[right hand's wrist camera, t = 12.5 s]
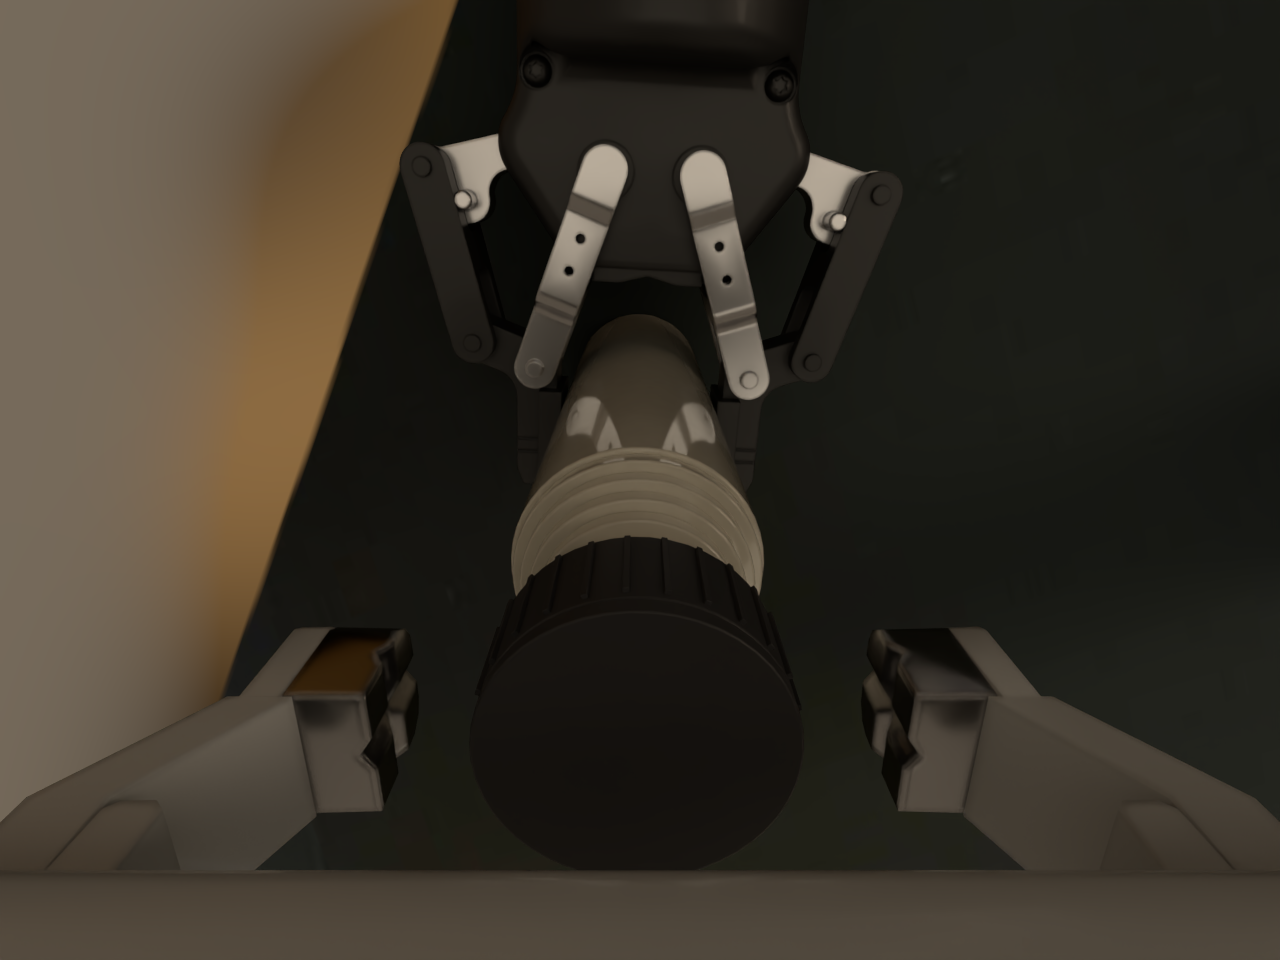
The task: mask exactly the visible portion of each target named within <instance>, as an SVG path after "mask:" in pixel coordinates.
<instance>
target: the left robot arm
mask: <svg viewBox="0 0 1280 960" xmlns="http://www.w3.org/2000/svg"><path fill="white" fill-rule="evenodd" d="M808 4H809V0H517V80H516V86H515V90H514V94H513V98H512V100H511V103H510V105H509V107H508V109H507V111H506V113H505V115H504V117H503V119H502V121H501V124H500V127H499V133H498V134H495V135H491V136H486V137H482V138H478V139H473V140H469V141H465V142H460V143H456V144H452V145H447V146H443V147H438V146H435V145H432V144H429V143H425V142H415V143H412V144H410V145H408V146H407V147H406V148H405V149H404V151H403V152H402V154H401V157H400V171H401V174H402V178H403V181H404V184H405V188H406V191H407V195H408V198H409V201H410V205H411V208H412V211H413V215H414V218H415V222H416V225H417V228H418V232H419V235H420V238H421V242H422V245H423V248H424V252H425V255H426V259H427V262H428V265H429V269H430V272H431V275H432V279H433V282H434V286H435V289H436V292H437V296H438V299H439V302H440V306H441V309H442V313H443V316H444V319H445V323H446V326H447V329H448V333H449V336H450V340H451V343H452V346H453V349H454V351H455V353H456V354H457V356H458V357H459V358H461V359H462V360H464V361H466V362H468V363H482V364H485V365H487V366H490V367H492V368H495V369H497V370H499V371H501V372H503V373H505V374H506V375H507V376H508V377H509V378H510V379H511V380H512V381H513V383H514V385H515V387H516V391H517V437H518V438H517V449H518V451H517V468H518V470H519V473H520V475H521V478H522V480H523V482H524V483H533V482H534V480H535V477H536V475H537V472H538V469H539V467H540V464H541V462H542V459H543V456H544V454H545V451H546V448H547V446H548V443H549V441H550V438H551V435H552V433H553V430H554V428H555V425H556V422H557V420H558V417H559V415H560V412H561V409H562V407H563V404H564V402H565V399H566V396H567V394H568V376H562V359H563V357H564V354H565V351H566V349H567V346H568V343H569V341H570V338H571V335H572V333H573V330H574V327H575V325H576V322H577V319H578V316H579V314H580V311H581V309H582V306H583V304H584V301H585V299H586V296H587V293H588V291H589V288H590V285H591V283H592V281H602V282H624V281H629V280H633V279H638V278H642V277H651V278H654V279H657V280H660V281H663V282H666V283H669V284H672V285H675V286H690V287H700V291H701V295H702V299H703V303H704V307H705V310H706V314H707V317H708V320H709V324H710V328H711V332H712V336H713V340H714V344H715V348H716V352H717V356H718V360H719V364H720V371H719V381H718V385H711V392H710V398H711V401H712V404H713V406H714V409H715V412H716V414H717V417H718V420H719V422H720V425H721V428H722V430H723V433H724V436H725V438H726V441H727V444H728V446H729V449H730V452H731V454H732V457H733V460H734V462H735V465H736V468H737V470H738V473H739V476H740V479H741V481H742V484H743V487H744V489H745V492H747V490H748V488H749V486H750V484H751V483H752V481H753V473H754V462H755V456H756V448H757V439H758V430H759V422H760V413H761V407H762V403H763V401H764V399H765V398H766V396H767V395H768V394H769V393H770V392H771V391H772V390H774V389H776V388H778V387H780V386H784V385H787V384H790V383H794V382H797V381H801V380H802V381H804V382H808V383H812V382H817V381H820V380H822V379H823V378H825V377H826V376H827V375H828V373H829V372H830V370H831V368H832V366H833V363H834V361H835V358H836V356H837V354H838V351H839V349H840V346H841V344H842V342H843V339H844V337H845V335H846V332H847V330H848V327H849V325H850V323H851V320H852V318H853V315H854V313H855V311H856V308H857V306H858V304H859V301H860V299H861V296H862V294H863V292H864V289H865V287H866V285H867V282H868V280H869V277H870V275H871V273H872V270H873V268H874V265H875V263H876V261H877V258H878V256H879V254H880V251H881V249H882V246H883V244H884V242H885V239H886V237H887V234H888V232H889V230H890V227H891V225H892V223H893V220H894V218H895V215H896V213H897V211H898V208H899V206H900V203H901V201H902V197H903V187H902V184H901V182H900V180H899V178H898V177H897V176H896V175H895V174H893V173H891V172H888V171H870V172H862V171H859V170H857V169H854V168H851V167H848V166H846V165H843V164H840V163H837V162H835V161H832V160H829V159H826V158H824V157H821V156H818V155H815V154H813V153H810V145H809V140H808V137H807V134H806V132H805V129H804V126H803V123H802V120H801V116H800V111H799V102H798V92H799V82H800V73H801V64H802V56H803V47H804V38H805V30H806V21H807V12H808ZM507 172H509V174H510V175H511V177H512V178H513V180H514V181H515V183H516V184H517V186H518V187H519V189H520V190H521V192H522V193H523V195H524V197H525V198H526V200H527V201H528V203H529V204H530V206H531V207H532V209H533V210H534V212H535V213H536V215H537V216H538V218H539V219H540V221H541V223H542V224H543V226H544V227H545V229H546V230H547V232H548V233H549V235H550V236H551V238H552V239H553V241H554V242H555V244H554V246H553V249H552V252H551V255H550V258H549V261H548V264H547V267H546V269H545V272H544V275H543V278H542V281H541V284H540V287H539V289H538V292H537V296H536V299H535V304H534V308H533V311H532V314H531V317H530V320H529V323H528V326H527V329H526V328H524V327H521V326H519V325H517V324H514V323H512V322H510V321H507V320H505V316H504V312H503V308H502V305H501V301H500V297H499V293H498V290H497V286H496V282H495V278H494V275H493V271H492V267H491V263H490V260H489V256H488V252H487V248H486V245H485V241H484V237H483V233H482V230H481V226H480V222H482V221H485V220H487V219H488V218H489V217H490V216H491V215H492V214H493V212H494V210H495V206H496V197H495V189H496V185H497V182H498V180H499V179H500V178H501V177H502V176H503V175H504V174H505V173H507ZM795 190H797V191H799V192H800V193H801V195H802V196H803V198H804V200H805V204H806V212H805V217H804V228H805V231H806V233H807V235H808V236H809V237H810V238H811V239H813V240H814V241H817V243H816V245H815V248H814V250H813V253H812V256H811V258H810V261H809V263H808V266H807V268H806V271H805V274H804V276H803V279H802V281H801V284H800V286H799V289H798V292H797V294H796V297H795V299H794V302H793V304H792V307H791V310H790V312H789V315H788V317H787V320H786V323H785V325H784V328H783V330H782V333H781V335H779V336H776V337H773V338H769V339H766V340H763V341H761V336H760V332H759V327H758V323H757V311H756V305H755V300H754V296H753V291H752V287H751V282H750V278H749V273H748V269H747V264H746V260H745V256H744V251H745V250H746V249H747V248H748V247H749V245H750V244H751V243H752V242H753V241H754V239H755V238H756V237H757V236H758V235H759V233H760V232H761V231H762V230H763V228H764V227H765V226H766V225H767V224H768V222H769V221H770V220H771V219H772V218H773V216H774V215H775V214H776V213H777V211H778V210H779V209H780V208H781V207H782V205H783V204H784V203H785V202H786V201H787V199H788V198H789V197H790V196H791V194H792V193H793V192H794V191H795Z"/></svg>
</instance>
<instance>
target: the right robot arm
mask: <svg viewBox="0 0 1280 960" xmlns="http://www.w3.org/2000/svg"><path fill="white" fill-rule="evenodd" d="M412 657H413V650H412V644H411V638H410V634H409V633H408V632H407V631H406V629H393V628H343V627H337V628H334V627H302V628H298V629H295V630H294V631H293V632H292V633H291V634H290V635H289V636H288V638H287V639H286V640H285V641H284V642H283V644H282V645H281V646H280V647H279V648H278V650H277V651H276V652H275V653H274V655H273V656H272V657H271V658H270V659H269V661H268V662H267V663H266V664H265V665H264V667H263V668H262V669H261V670H260V672H259V673H258V674H257V675H256V676H255V678H254V679H253V680H252V681H251V682H250V684H249V685H248V686H247V687H246V689H245V690H244V691H243V692H242V693H241V695H240V696H236V697H226V698H224V699H222V700H220V701H218V702H216V703H214V704H212V705H210V706H208V707H206V708H204V709H202V710H200V711H198V712H196V713H194V714H192V715H190V716H188V717H186V718H184V719H182V720H180V721H178V722H176V723H174V724H172V725H170V726H168V727H166V728H164V729H162V730H160V731H158V732H156V733H154V734H152V735H150V736H148V737H146V738H144V739H142V740H140V741H138V742H136V743H134V744H132V745H130V746H128V747H126V748H124V749H122V750H120V751H118V752H116V753H114V754H112V755H110V756H108V757H106V758H104V759H102V760H100V761H98V762H96V763H94V764H92V765H90V766H88V767H86V768H84V769H82V770H80V771H78V772H76V773H74V774H72V775H70V776H68V777H66V778H64V779H62V780H60V781H58V782H56V783H54V784H52V785H50V786H48V787H46V788H44V789H42V790H40V791H38V792H36V793H34V794H32V795H30V796H28V797H26V798H25V799H24V800H23V801H22V802H21V803H20V804H19V805H18V806H17V807H16V808H15V809H14V810H13V811H12V812H11V813H10V814H9V815H8V816H7V817H6V818H5V819H3V820H2V821H1V822H0V960H1280V822H1279V821H1278V820H1277V819H1276V818H1275V817H1274V816H1273V815H1272V814H1271V813H1270V812H1269V811H1268V810H1267V809H1266V808H1265V807H1263V806H1262V805H1261V804H1260V803H1259V802H1258V801H1257V800H1256V799H1255V798H1253V797H1251V796H1249V795H1247V794H1245V793H1243V792H1241V791H1239V790H1237V789H1235V788H1233V787H1231V786H1229V785H1227V784H1225V783H1223V782H1221V781H1219V780H1217V779H1215V778H1213V777H1211V776H1210V775H1208V774H1206V773H1204V772H1202V771H1200V770H1198V769H1196V768H1194V767H1192V766H1190V765H1188V764H1186V763H1184V762H1182V761H1180V760H1178V759H1176V758H1174V757H1172V756H1170V755H1168V754H1166V753H1164V752H1162V751H1160V750H1158V749H1156V748H1154V747H1152V746H1150V745H1148V744H1146V743H1144V742H1142V741H1140V740H1138V739H1136V738H1134V737H1132V736H1130V735H1128V734H1126V733H1124V732H1122V731H1120V730H1118V729H1116V728H1114V727H1112V726H1110V725H1108V724H1106V723H1104V722H1102V721H1100V720H1098V719H1096V718H1094V717H1092V716H1090V715H1088V714H1086V713H1084V712H1082V711H1080V710H1078V709H1076V708H1074V707H1072V706H1070V705H1068V704H1066V703H1064V702H1062V701H1060V700H1058V699H1056V698H1054V697H1044V696H1040V695H1039V693H1038V692H1037V691H1036V690H1035V689H1034V687H1033V686H1032V685H1031V684H1030V683H1029V681H1028V680H1027V679H1026V678H1025V676H1024V675H1023V674H1022V673H1021V672H1020V670H1019V669H1018V668H1017V667H1016V666H1015V664H1014V663H1013V662H1012V661H1011V660H1010V658H1009V657H1008V656H1007V655H1006V653H1005V652H1004V651H1003V650H1002V649H1001V647H1000V646H999V645H998V644H997V643H996V641H995V640H994V639H993V638H992V637H991V635H990V634H989V633H988V632H987V631H986V630H985V629H983V628H980V627H955V628H931V629H891V630H872V633H871V635H870V638H869V642H868V649H867V657H868V659H869V661H870V663H871V665H872V667H873V669H874V671H873V672H872V673H871V674H870V675H869V676H868V677H867V678H866V679H865V680H864V681H863V687H862V697H861V708H862V721H863V726H864V730H865V734H866V737H867V739H868V742H869V744H870V747H871V749H872V750H874V751H875V752H876V753H878V754H879V755H880V756H882V757H883V758H884V759H883V766H882V775H883V777H884V780H885V782H886V784H887V787H888V789H889V791H890V793H891V796H892V798H893V800H894V803H895V805H896V807H897V810H898V811H919V812H955V813H964V815H963V816H964V817H965V818H967V819H968V820H969V821H970V822H971V823H972V824H973V825H975V826H976V827H977V828H978V829H979V830H980V831H981V832H983V833H984V834H985V835H986V836H987V837H988V838H990V839H991V840H992V841H993V842H994V843H995V844H996V845H998V846H999V847H1000V848H1001V849H1002V850H1003V851H1004V852H1006V853H1007V854H1008V855H1009V856H1010V857H1011V858H1013V859H1014V860H1015V861H1016V862H1017V863H1018V864H1019V865H1021V866H1022V867H1023V868H1024V869H1025V870H255V869H256V868H257V867H259V866H260V865H261V864H262V863H263V862H264V861H265V860H267V859H268V858H269V857H270V856H271V855H272V854H274V853H275V852H276V851H277V850H278V849H279V848H280V847H282V846H283V845H284V844H285V843H286V842H287V841H288V840H290V839H291V838H292V837H293V836H294V835H295V834H297V833H298V832H299V831H300V830H301V829H302V828H303V827H305V826H306V825H307V824H308V823H309V822H310V821H312V820H313V819H314V818H315V817H316V813H325V812H360V811H382V810H383V807H384V805H385V803H386V801H387V798H388V796H389V794H390V791H391V789H392V787H393V784H394V782H395V780H396V777H397V775H398V766H397V759H396V758H397V757H398V756H400V755H401V754H402V753H404V752H405V751H406V750H408V749H409V747H410V744H411V742H412V739H413V737H414V734H415V730H416V724H417V719H418V713H419V694H418V686H417V681H416V680H415V679H414V678H413V677H412V676H411V675H410V674H409V673H408V672H407V671H406V669H407V667H408V665H409V663H410V661H411V659H412Z"/></svg>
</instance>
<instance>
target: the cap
mask: <svg viewBox="0 0 1280 960" xmlns="http://www.w3.org/2000/svg"><path fill="white" fill-rule="evenodd" d="M792 678H793V676H792V673H791V669H790V666H789V663H788V660H787V657H786V654H785V651H784V648H783V645H782V642H781V639H780V636H779V633H778V630H777V627H776V624H775V621H774V618H773V615H772V613H771V612H769V613H767V611H766V609H765V608H764V606H763V604H762V602H761V600H760V598H759V594H758V591H757V589H756V587H755V586H754V585H753V586H752V587H750V585H749V584H748V583H747V582H746V581H745V580H744V579H743V578H742V577H741V576H740V575H739V574H738V573H737V572H736V571H734V568H733V566H732V565H731V564H730V563H728V564H727V565H726V564H725V563H724V562H722V561H721V560H719V559H717V558H715V557H714V556H712V555H710V554H708V553H706V552H704V551H703V549H702V548H700V547H698V546H697V548H694V547H692V546H689V545H687V544H683V543H679V542H675V541H672V540H668V538H665V537H661V539H660V538H653V537H631V536H630V535H626V536H624V537H623V538H613V539H608V540H603V541H599V542H594V541H591V542H588V545H585V546H582V547H580V548H577V549H574V550H572V551H570V552H568V553H566V554H564V555H562V556H561V554H559V555H557V556H556V557H555V560H554V561H552V562H551V563H549V564H548V565H546V566H545V567H543V568H542V569H541V570H540V571H539V572H538V573H537V574H535V575H533V574H531V575H530V576H529V577H528V579H527V582H526V585H525V586H524V587H523V588H522V589H521V591H520V592H519V593H518V595H517V596H516V598H515V599H514V600H512V599H510V600H509V602H508V604H507V607H506V610H505V613H504V616H503V619H502V622H501V625H500V627H497V629H496V632H495V635H494V638H493V641H492V644H491V647H490V650H489V653H488V656H487V659H486V662H485V665H484V668H483V671H482V674H481V677H480V680H479V683H478V686H477V689H476V692H475V695H478V696H479V698H478V701H477V704H476V707H475V711H474V715H473V719H472V722H471V729H470V741H469V745H470V758H471V764H472V768H473V772H474V776H475V780H476V782H477V784H478V787H479V789H480V792H481V794H482V796H483V798H484V799H485V801H486V803H487V804H488V806H489V808H490V809H491V811H492V812H493V813H494V815H495V816H496V817H497V818H498V820H499V821H500V822H501V823H502V825H503V826H505V827H506V828H507V829H508V830H509V831H510V832H511V833H512V834H513V835H514V836H515V837H516V838H517V839H519V840H520V841H521V842H523V843H524V844H525V845H527V846H528V847H530V848H531V849H533V850H534V851H536V852H538V853H539V854H541V855H543V856H545V857H546V858H548V859H551V860H553V861H555V862H557V863H560V864H562V865H564V866H567V867H570V868H573V869H576V870H698V869H701V868H704V867H706V866H709V865H711V864H714V863H716V862H719V861H721V860H723V859H725V858H727V857H729V856H731V855H732V854H734V853H736V852H738V851H739V850H741V849H742V848H744V847H745V846H747V845H748V844H750V843H751V842H753V841H754V840H755V839H756V838H757V837H758V836H759V835H761V834H762V833H763V832H764V831H765V830H766V829H767V828H768V827H769V826H770V825H771V824H772V823H773V821H774V820H775V819H776V818H777V817H778V816H779V814H780V813H781V811H782V810H783V808H784V807H785V805H786V804H787V802H788V801H789V799H790V797H791V795H792V793H793V791H794V788H795V786H796V784H797V781H798V777H799V774H800V771H801V767H802V761H803V753H804V732H803V726H802V721H801V716H800V712H799V711H801V710H802V709H801V704H800V701H799V698H798V695H797V691H796V688H795V685H794V682H793V679H792Z"/></svg>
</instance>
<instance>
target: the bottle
mask: <svg viewBox="0 0 1280 960" xmlns="http://www.w3.org/2000/svg"><path fill="white" fill-rule="evenodd" d="M626 535H630V536H631V537H653V538H660V539H661V537H665V538H668V540H672V541H675V542H679V543H683V544H687V545H689V546H692V547H694V548H697V546H698V547H700V548H702V549H703V551H704V552H706V553H708V554H710V555H712V556H714V557H715V558H717V559H719V560H721V561H722V562H724V563H725V564H726V565H727V564H728V563H730V564H731V565H732V566H733V568H734V571H736V572H737V573H738V574H739V575H740V576H741V577H742V578H743V579H744V580H745V581H746V582H747V583H748V584H749V585H750V587H752V586H753V585H754V586H755V587H756V589H757V591H758V594H760V590H761V584H762V577H763V568H764V550H763V543H762V538H761V533H760V530H759V527H758V524H757V522H756V519H755V516H754V513H753V511H752V508H751V505H750V503H749V500H748V497H747V495H746V492H745V489H744V487H743V484H742V481H741V479H740V476H739V473H738V470H737V468H736V465H735V462H734V460H733V457H732V454H731V452H730V449H729V446H728V444H727V441H726V438H725V436H724V433H723V430H722V428H721V425H720V422H719V420H718V417H717V414H716V412H715V409H714V406H713V404H712V401H711V398H710V396H709V393H708V390H707V387H706V385H705V382H704V379H703V377H702V374H701V371H700V369H699V366H698V363H697V361H696V358H695V355H694V353H693V350H692V348H691V346H690V344H689V342H688V341H687V339H686V338H685V336H684V335H683V334H682V333H681V332H680V331H679V330H678V329H677V328H676V327H674V326H673V325H672V324H670V323H668V322H667V321H665V320H663V319H660V318H658V317H654V316H651V315H644V314H633V315H626V316H622V317H619V318H617V319H614V320H612V321H610V322H608V323H607V324H605V325H604V326H602V327H601V328H600V329H599V330H598V331H597V332H596V333H595V334H594V335H593V336H592V338H591V339H590V340H589V342H588V344H587V345H586V347H585V350H584V352H583V355H582V357H581V360H580V362H579V365H578V368H577V370H576V373H575V376H574V378H573V381H572V383H571V386H570V389H569V391H568V394H567V396H566V399H565V402H564V404H563V407H562V409H561V412H560V415H559V417H558V420H557V422H556V425H555V428H554V430H553V433H552V435H551V438H550V441H549V443H548V446H547V448H546V451H545V454H544V456H543V459H542V462H541V464H540V467H539V469H538V472H537V475H536V477H535V480H534V482H533V485H532V488H531V490H530V493H529V495H528V498H527V501H526V503H525V506H524V508H523V511H522V514H521V516H520V519H519V521H518V524H517V527H516V530H515V534H514V538H513V543H512V552H511V567H512V576H513V584H514V589H515V594H516V596H517V595H518V593H519V592H520V591H521V589H522V588H523V587H524V586H525V585H526V582H527V579H528V577H529V576H530V575H531V574H533V575H535V574H537V573H538V572H539V571H540V570H541V569H542V568H543V567H545V566H546V565H548V564H549V563H551V562H552V561H554V560H555V557H556V556H557V555H559V554H561V556H562V555H564V554H566V553H568V552H570V551H572V550H574V549H577V548H580V547H582V546H585V545H588V542H591V541H594V542H599V541H603V540H608V539H613V538H623V537H624V536H626Z"/></svg>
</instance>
